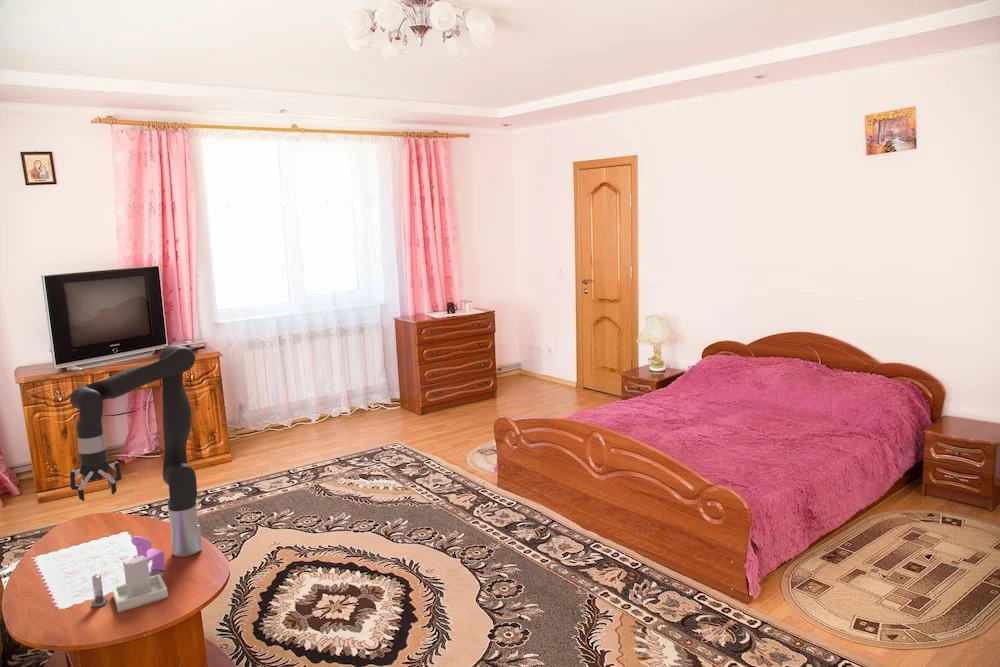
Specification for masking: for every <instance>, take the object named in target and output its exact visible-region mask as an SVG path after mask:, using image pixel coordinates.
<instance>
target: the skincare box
mask: <svg viewBox="0 0 1000 667" xmlns="http://www.w3.org/2000/svg"><path fill="white" fill-rule="evenodd" d="M122 564H123V570H124V576H125V584H126V586H127V593H128V597H129V598H133V597H136V596H140V595H143V594H147V593H150V592H151V584H150V577H151V576H150V569H149V563H148V560H147V558H145V557H144V556H143V555H142V556H139V557H136V558H134V557H133V558H130V559H128V560H125V561H123V562H122Z"/></svg>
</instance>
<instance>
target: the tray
mask: <svg viewBox="0 0 1000 667" xmlns="http://www.w3.org/2000/svg"><path fill="white" fill-rule="evenodd" d="M150 584H151V592H150V593H147V594H143V595H140V596H136V597H133V598H129V597H128V593H127V586H126V583H124V584H123V583H122V584H120V585H117V586H113V587H111V588H112V597H113V600H114V603H115V605H116V609H117V612H118V613H122V612H125V611H129V610H132V609H136V608H139V607H141V606H142V607H143V606H146V605H148V604H152V603H155V602H158V601H162V600H165V599H168V598H169V592H168V587H167V585H166V584H165V581H164V579H163V577H162V576H161V573H159V574H155V575H151V576H150Z"/></svg>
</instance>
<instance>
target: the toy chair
mask: <svg viewBox="0 0 1000 667" xmlns="http://www.w3.org/2000/svg"><path fill="white" fill-rule="evenodd" d="M130 541H131V544H132V545H133V546H135V548H136V551H137V552H136V553H137V554H135V555H133V558H136V557H139V556H142V555H143V556H144V557H145V558H147V560H148V564H149V563H150V562H151V561H152V563H151V566H150V569H153V568H154V569H153V570H158V569H159V570H160V571H164V570H165V571H166V570H167V569H166V566H165V553H164V550H163V549H156V548H152V541H151V539H148V538H147V537H143V536H139V535H134V536H132V537H131V540H130Z"/></svg>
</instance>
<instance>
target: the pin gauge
mask: <svg viewBox="0 0 1000 667" xmlns="http://www.w3.org/2000/svg"><path fill="white" fill-rule="evenodd" d="M91 580H92V587H93V588H92V589H93V596H94V600H93V601H91V604H90V605H91V608H94V609H95V608H96V609H97V608H101V607H104V606H106V605H107V604H108V603H109V600H108V598H107V597H104V590H103V583H102V574H95V575H92V577H91Z"/></svg>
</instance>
